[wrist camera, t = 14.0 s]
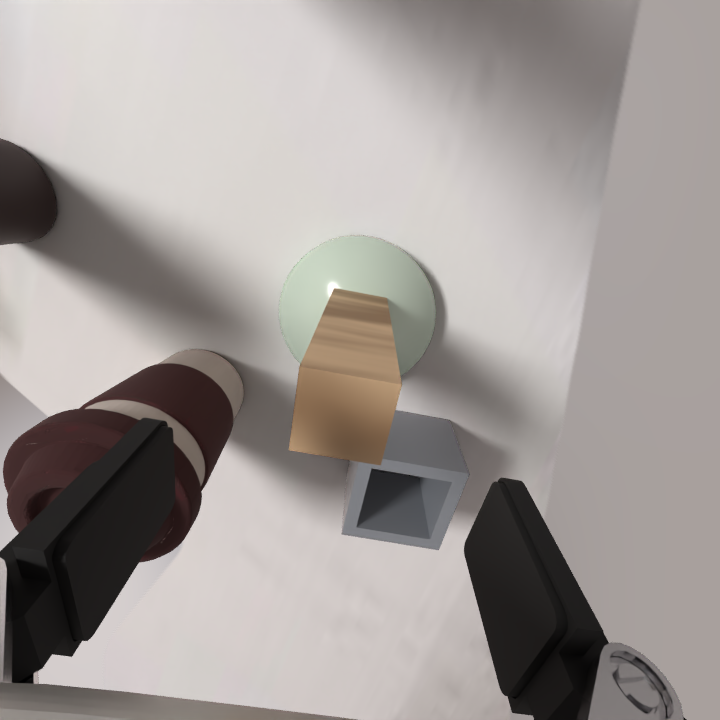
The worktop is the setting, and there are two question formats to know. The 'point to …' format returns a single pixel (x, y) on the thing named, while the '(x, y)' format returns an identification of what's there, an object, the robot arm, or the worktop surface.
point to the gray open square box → (407, 485)
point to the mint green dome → (364, 275)
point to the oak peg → (348, 381)
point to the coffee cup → (114, 419)
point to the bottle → (23, 197)
